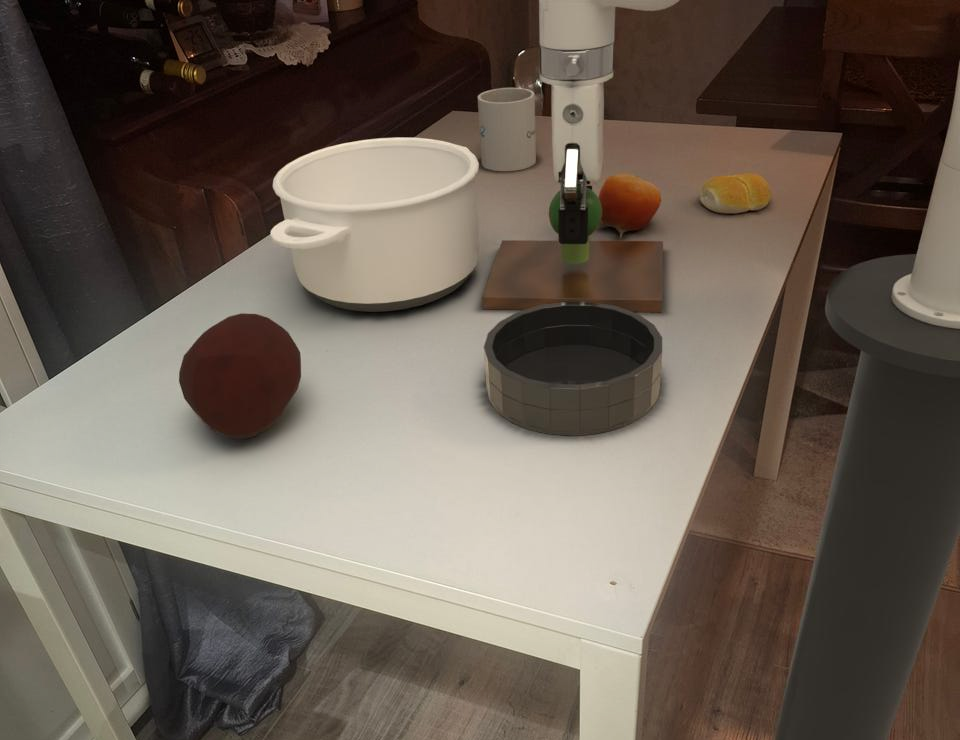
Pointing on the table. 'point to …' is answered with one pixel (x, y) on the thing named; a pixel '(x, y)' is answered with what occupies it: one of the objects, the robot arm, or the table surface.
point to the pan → (573, 368)
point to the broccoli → (581, 251)
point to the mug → (507, 129)
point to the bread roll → (735, 193)
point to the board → (576, 275)
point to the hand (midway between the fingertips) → (575, 229)
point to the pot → (380, 221)
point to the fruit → (628, 202)
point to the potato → (241, 375)
